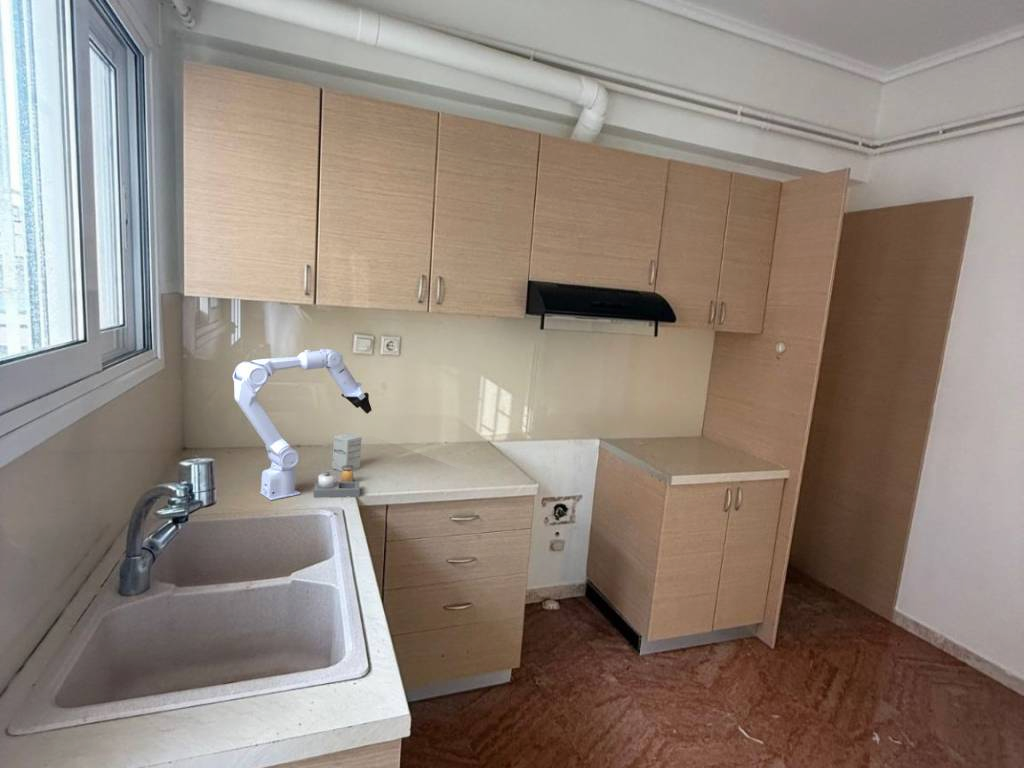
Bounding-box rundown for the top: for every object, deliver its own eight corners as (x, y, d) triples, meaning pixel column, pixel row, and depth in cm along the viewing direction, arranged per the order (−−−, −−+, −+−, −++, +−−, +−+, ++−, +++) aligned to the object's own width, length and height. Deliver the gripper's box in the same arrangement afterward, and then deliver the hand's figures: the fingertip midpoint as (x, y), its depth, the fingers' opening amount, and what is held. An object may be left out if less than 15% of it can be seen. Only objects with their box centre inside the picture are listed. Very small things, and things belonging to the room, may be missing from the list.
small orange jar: (344, 486, 178) (345, 469, 177) (338, 482, 180) (339, 466, 180) (355, 483, 181) (356, 467, 180) (349, 480, 184) (349, 464, 183)
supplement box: (331, 468, 195) (332, 436, 193) (346, 464, 201) (347, 433, 200) (345, 473, 191) (347, 439, 190) (360, 468, 198) (362, 436, 196)
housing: (313, 497, 165) (314, 476, 164) (315, 489, 172) (316, 468, 172) (359, 496, 169) (360, 476, 168) (359, 488, 177) (360, 468, 176)
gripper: (363, 376, 172) (382, 407, 180) (344, 368, 183) (363, 397, 190) (346, 389, 169) (366, 419, 177) (328, 380, 180) (348, 409, 187)
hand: (364, 408), depth 183 cm, fingers open, 7 cm apart
